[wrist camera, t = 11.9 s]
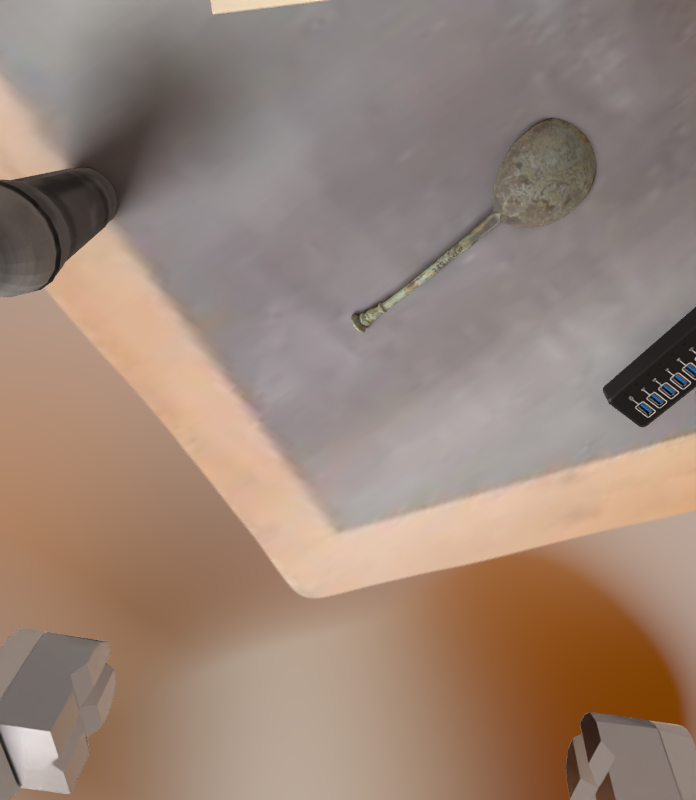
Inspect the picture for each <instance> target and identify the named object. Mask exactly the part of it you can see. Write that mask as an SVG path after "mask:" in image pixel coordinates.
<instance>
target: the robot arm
mask: <svg viewBox="0 0 696 800" xmlns="http://www.w3.org/2000/svg"><path fill="white" fill-rule="evenodd" d="M110 654H111V653H110V650H109V646H108V642H107V641H100V640H94V639H88V638H81V637H75V636H68V635H62V634H55V633H50V632H45V631H38V630H31V629H24V628H19V629H18V630H16V631H15V632H14V633H13V634H12V635H10V636H9V637H8V639H7V640H6V642H5V643H4V645H3V646H2V647H1V649H0V800H10V799H11V798H13V797H14V796H15V795H16V794H17V793H18V792H19V787H20V788H27V789H35V790H43V791H50V792H58V793H65V794H71V792H72V790H73V787H74V785H75V783H76V781H77V779H78V777H79V775H80V773H81V771H82V768H83V766H84V764H85V762H86V760H87V758H88V756H89V753H90V751H89V745H88V740H87V738H88V737H89V736H90V735H92V734H93V733H94V732H95V731H97V730H98V729H99V728H101V727H102V726H103V723H104V721H105V719H106V717H107V715H108V712H109V710H110V707H111V703H112V699H113V696H114V692H115V673H114V669H113V668H111V667H110V666H109V665H108V664H107V663H106V662H107V660H108V658H109V656H110ZM580 726H581V730H582V734H581V735H580V736H577V737H575V738H573V739H572V742H571V744H570V746H569V749H568V752H567V762H566V775H567V785H568V791H569V797H570V800H696V748H695V745H694V743H693V740H692V738H691V735H690V734H689V732H688V731H687V730H686V729H685V727H683V726H680V725H676V724H669V723H661V722H654V721H649V720H646V719H638V718H629V717H622V716H614V715H607V714H598V713H591V712H589V713H587V714H585V715H584V717H583V719H582V720H581V722H580Z"/></svg>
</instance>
